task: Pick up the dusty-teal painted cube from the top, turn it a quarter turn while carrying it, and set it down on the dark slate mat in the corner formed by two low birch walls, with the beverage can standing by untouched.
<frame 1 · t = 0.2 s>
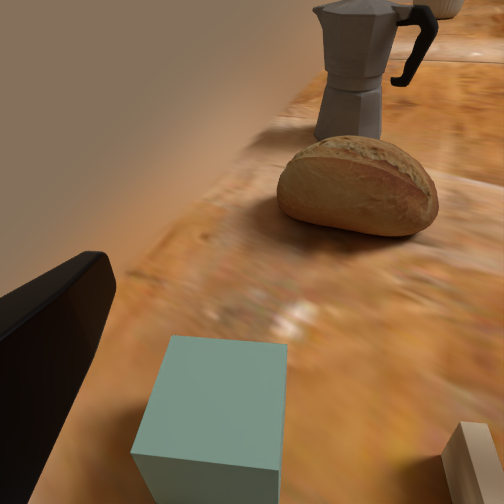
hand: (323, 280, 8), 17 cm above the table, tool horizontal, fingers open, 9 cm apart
coffeepot: (354, 138, 53), on the table
canister: (434, 17, 121), on the table
cube: (227, 452, 22), on the table
bread roll: (348, 222, 38), on the table
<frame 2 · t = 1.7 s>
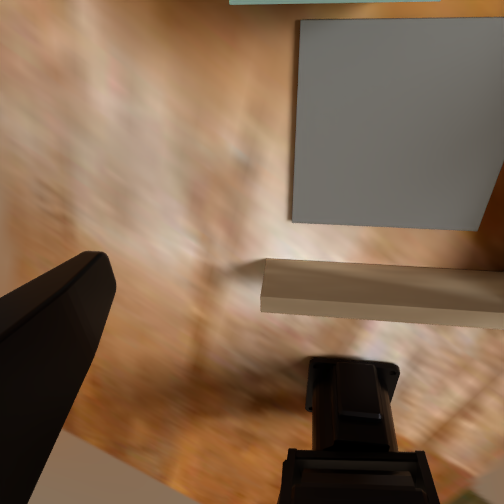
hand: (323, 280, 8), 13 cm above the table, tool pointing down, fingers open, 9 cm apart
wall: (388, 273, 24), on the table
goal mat: (399, 136, 19), on the table
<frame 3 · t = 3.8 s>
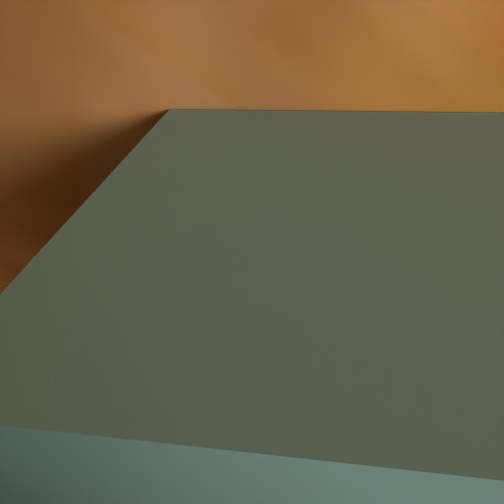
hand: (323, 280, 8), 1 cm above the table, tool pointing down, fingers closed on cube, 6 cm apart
cube: (322, 249, 9), on the table, touching gripper
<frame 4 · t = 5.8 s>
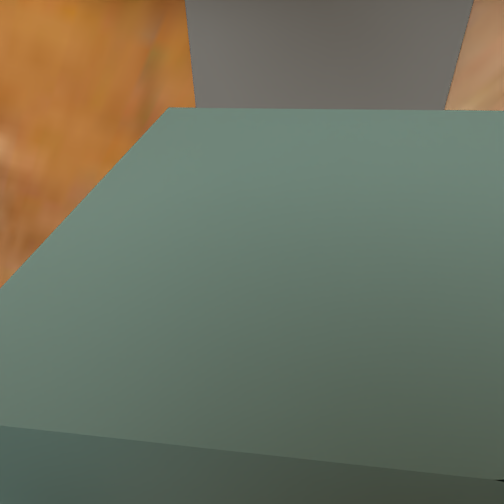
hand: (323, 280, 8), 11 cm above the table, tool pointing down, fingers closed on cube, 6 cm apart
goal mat: (315, 106, 16), on the table
cube: (322, 248, 9), point 10 cm above the table, touching gripper
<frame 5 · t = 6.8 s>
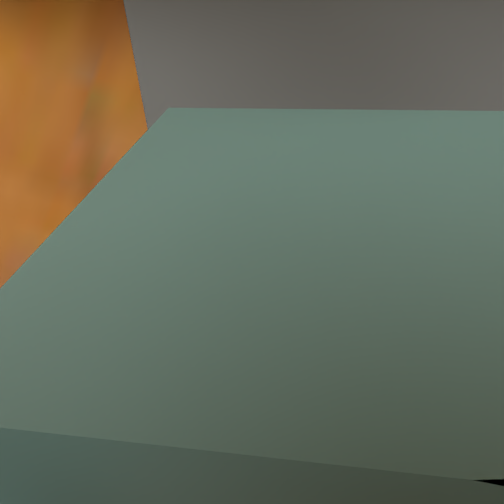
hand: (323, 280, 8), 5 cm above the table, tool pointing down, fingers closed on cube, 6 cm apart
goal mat: (316, 166, 12), on the table
cube: (322, 248, 9), point 4 cm above the table, touching gripper
when the fingers open (3 cm above the table, at t = 7.8 s): cube drops 1 cm, resting on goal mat.
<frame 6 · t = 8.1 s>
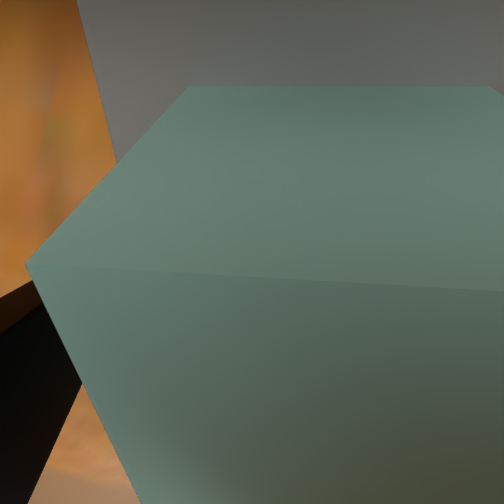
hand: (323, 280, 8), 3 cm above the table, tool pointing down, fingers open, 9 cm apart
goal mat: (319, 208, 10), on the table
cube: (321, 213, 10), resting on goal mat
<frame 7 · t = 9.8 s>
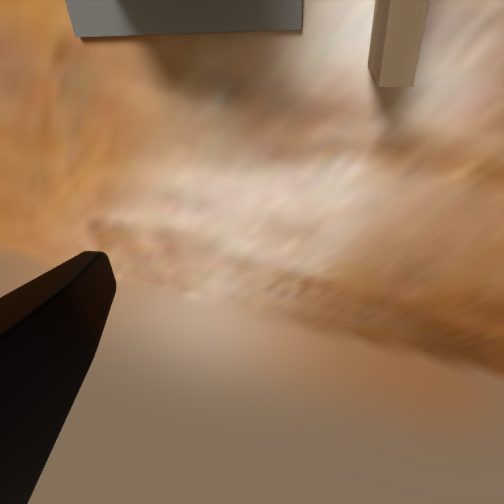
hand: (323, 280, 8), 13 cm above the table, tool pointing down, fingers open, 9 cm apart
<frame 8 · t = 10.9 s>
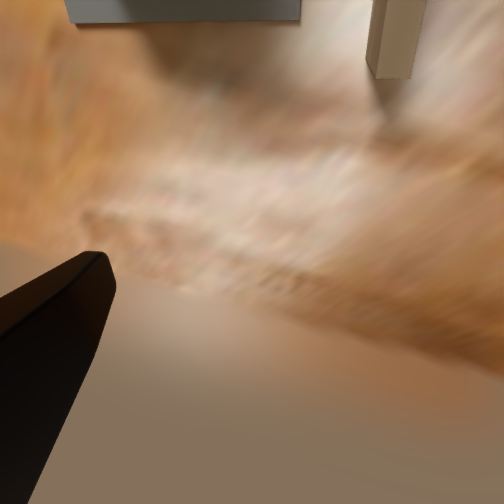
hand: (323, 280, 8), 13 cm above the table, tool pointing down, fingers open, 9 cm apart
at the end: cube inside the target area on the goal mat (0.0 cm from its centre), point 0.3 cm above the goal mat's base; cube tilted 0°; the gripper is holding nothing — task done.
